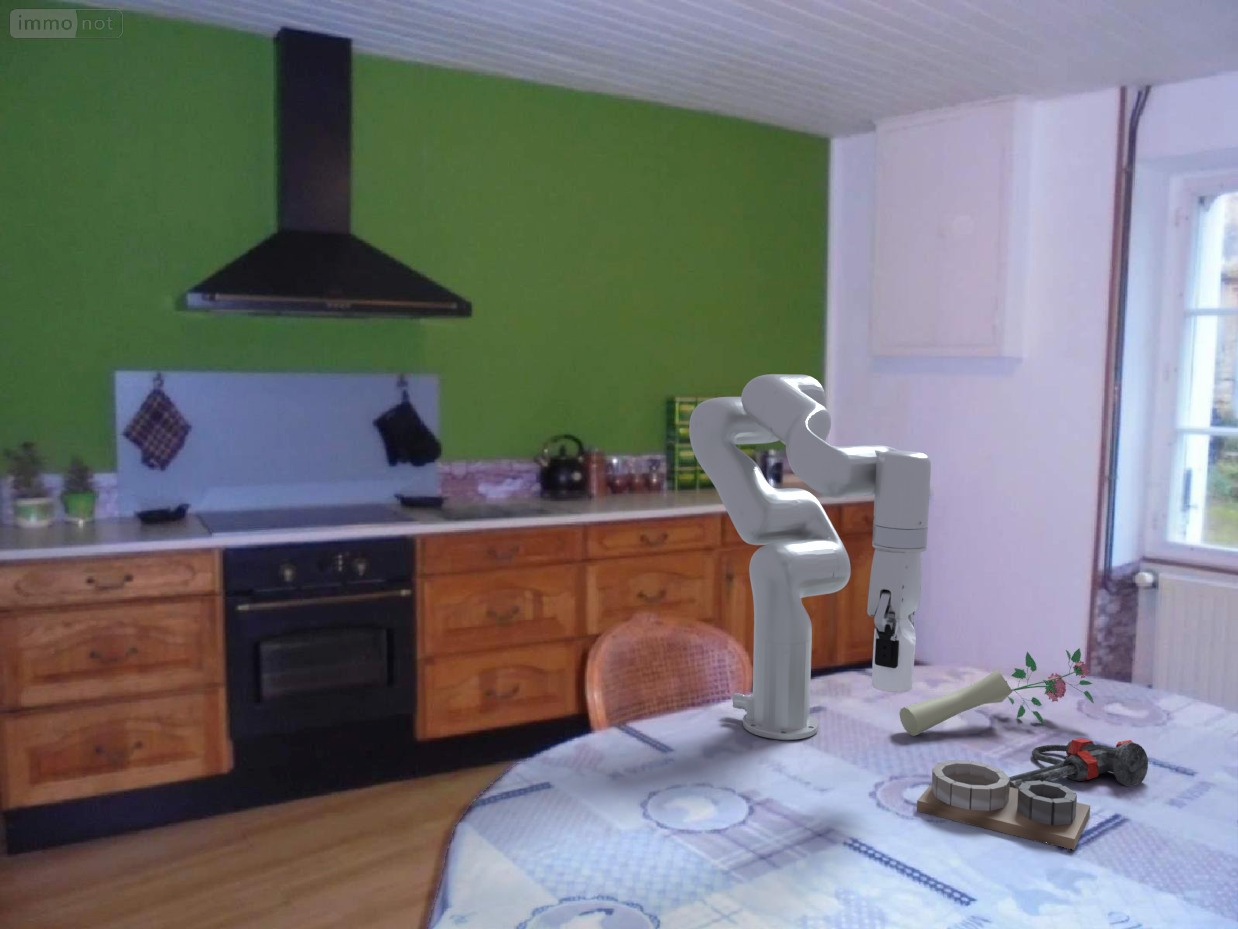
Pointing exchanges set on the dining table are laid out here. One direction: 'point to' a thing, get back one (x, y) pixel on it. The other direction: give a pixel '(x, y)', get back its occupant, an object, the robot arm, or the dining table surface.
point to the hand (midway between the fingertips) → (893, 659)
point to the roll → (903, 673)
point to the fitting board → (1004, 803)
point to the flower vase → (987, 696)
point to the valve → (1089, 763)
